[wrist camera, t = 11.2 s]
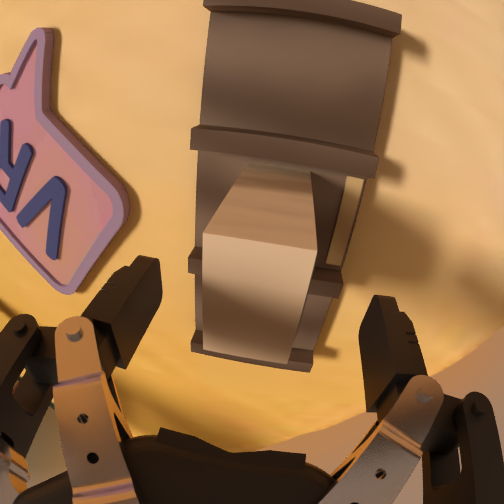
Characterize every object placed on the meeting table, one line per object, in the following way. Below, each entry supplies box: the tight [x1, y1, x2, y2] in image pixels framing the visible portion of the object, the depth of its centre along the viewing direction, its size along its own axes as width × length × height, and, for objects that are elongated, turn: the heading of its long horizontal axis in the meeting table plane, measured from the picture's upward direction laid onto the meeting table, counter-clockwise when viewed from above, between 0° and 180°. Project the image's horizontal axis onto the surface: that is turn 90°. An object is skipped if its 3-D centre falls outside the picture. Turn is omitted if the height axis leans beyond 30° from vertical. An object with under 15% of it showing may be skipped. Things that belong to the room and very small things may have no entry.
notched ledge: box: [188, 0, 402, 373], centre depth 18 cm, size 26×10×2 cm, turn 174°
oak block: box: [202, 162, 317, 364], centre depth 15 cm, size 6×4×9 cm, turn 174°
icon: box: [0, 28, 130, 295], centre depth 20 cm, size 19×2×20 cm
